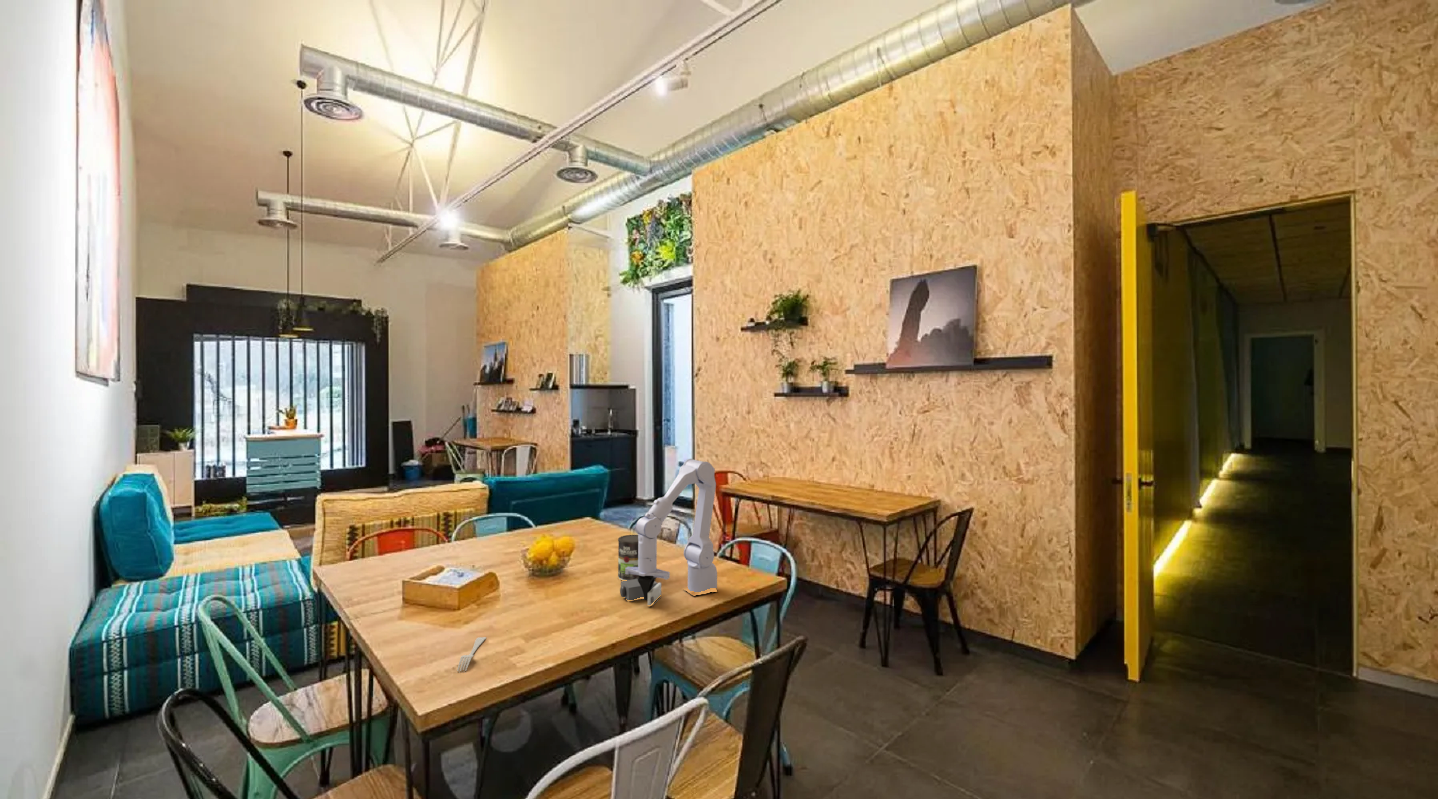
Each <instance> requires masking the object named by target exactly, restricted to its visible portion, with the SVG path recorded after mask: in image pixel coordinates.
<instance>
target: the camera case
mask: <svg viewBox="0 0 1438 799" xmlns="http://www.w3.org/2000/svg"><path fill="white" fill-rule="evenodd" d="M658 583H659V582H657V581H656V580H655V581H654V583H653V586H652V588H654V587H655V586H656V585H657V584H658ZM619 592H620V593H619V594H620V597H621V598H623V597H625V598H626V599H627V600H634V599H637V598H640V597H644V594H643V591H642V588H641V586H640V584H639V582H638V579H633V580H627V581H621V580H620V588H619ZM625 598H624V599H625ZM626 599H625V600H626ZM627 600H626V601H627Z"/></svg>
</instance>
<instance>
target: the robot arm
mask: <svg viewBox="0 0 1438 799" xmlns="http://www.w3.org/2000/svg"><path fill="white" fill-rule="evenodd" d="M715 469H716V468H714V466H713V465H712V464H711V463H710V462H709V461H702V460H698V459H697V460H696V459H694V458H688V459H686V460H685V461H684V462H683V465H681V466H680V467H679V471H678V473H677V476H676V477H675V479H674V480H673V482H672V483H671V485H670V486H669V488H668V489H667V492H666V493H665V494H664V496H662V497H658V498H657V499H655V500H654V501H653V504H652V506H651V507H650V508H649V510H648V511H647V512H646V513H645V514H644V516H642V517H641V518H639V519H638V520H637V522H636V525H635V526H634V530H635V532H636V535H638V567H627V568H625V574H634V575H639V578H638V582H639V584H640V586H641V588H642V591H643V594H644V599H643V600H644V601H648V592H649V591H650V590H651V589H652V586H653V583H654V581H656V580H657V578H658V579H663V580H666V581H667V580H669V579H670V577H671V576H670V574H671V573H670V571H666V570H663V569H661V568H657V567H658V566H657V564H658V563H657V562H658V561H657V560H658V559H657V558H658V554H657V552H658V551H657V549H658V548H657V547H658V546H657V543H658V535H660V533H661V530H662V526H663V522H664V521H665V520H666V519H667V517H668V516H669V514H670V513H671V512H672V510H673V508H674V507H673V503H674V502H675V501H676V500H677V498H678V497H679V496H680V495H681V493H683V491H684V490H685V489H686V488H687V486H689V485H693V484H695V485H696V487H697V488H698V494H697V500H696V501H697V502H696V509H695V515H694V523H693V531H692V535H691V536H690V537H688V538H687V543H686V545H685V547H684V549H683V557H684V559H685V560H686V564H687V587H688V589H689V590H690V591H694V592H701V591H705V590H707V589H710V588H717V589H718V570H717V566H716V565H715V564H714V559H715V552H714V543H713V541H712V540H711V539H710V532H711V524H712V516H713V509H714V502H715V494H716V488H717V483H716V479H715V472H716V470H715Z"/></svg>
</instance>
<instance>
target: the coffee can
mask: <svg viewBox="0 0 1438 799" xmlns="http://www.w3.org/2000/svg"><path fill="white" fill-rule="evenodd" d="M617 541H618V549H617V550H618V553H617V554H618V556H617V557H618V559H617V560H618V562H617V564H618V565H617V571H618V572H617V578H618V577H619V579H621V580H633V579H638V578H639V575H634V574H625V568H627V567H638V534H626V535H621V536H619V537H618V539H617ZM619 579H618V580H619ZM621 580H620V581H621Z"/></svg>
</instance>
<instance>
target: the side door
mask: <svg viewBox="0 0 1438 799" xmlns="http://www.w3.org/2000/svg"><path fill="white" fill-rule="evenodd" d="M657 583H658V584H657V585H656V586H655V587H654V588H652V589H651V590H650V591H649V592H648V600H647V602H646V603H647V605H651V604H652V603H653V602H654V601H655V600H656V599H657V598H658V597H659V596H660V595H661V596H662V582H657Z"/></svg>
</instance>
